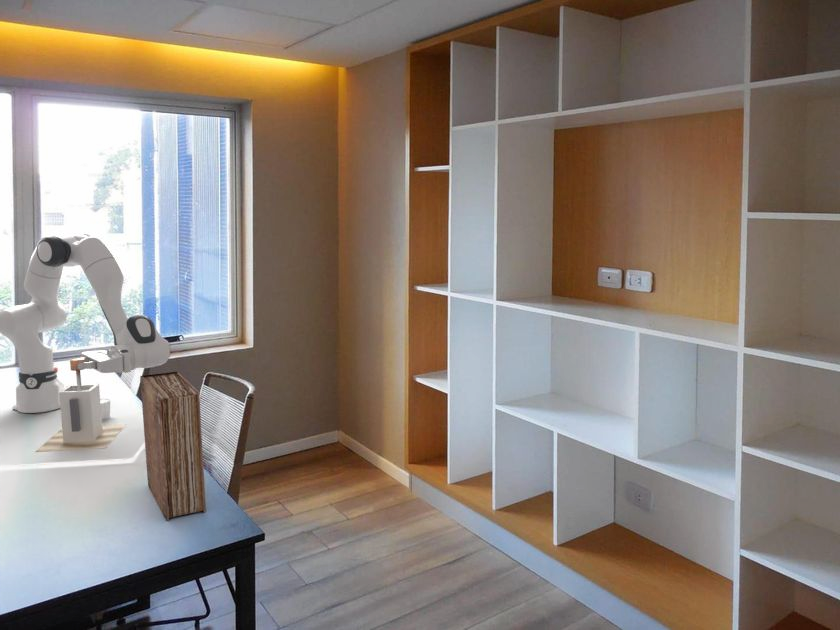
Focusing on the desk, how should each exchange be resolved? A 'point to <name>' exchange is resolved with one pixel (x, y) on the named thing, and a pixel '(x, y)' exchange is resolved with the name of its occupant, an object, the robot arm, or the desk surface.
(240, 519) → the desk surface
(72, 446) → the oak board
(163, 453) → the book
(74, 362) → the plunger
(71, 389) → the slotted white box
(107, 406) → the shot glass
